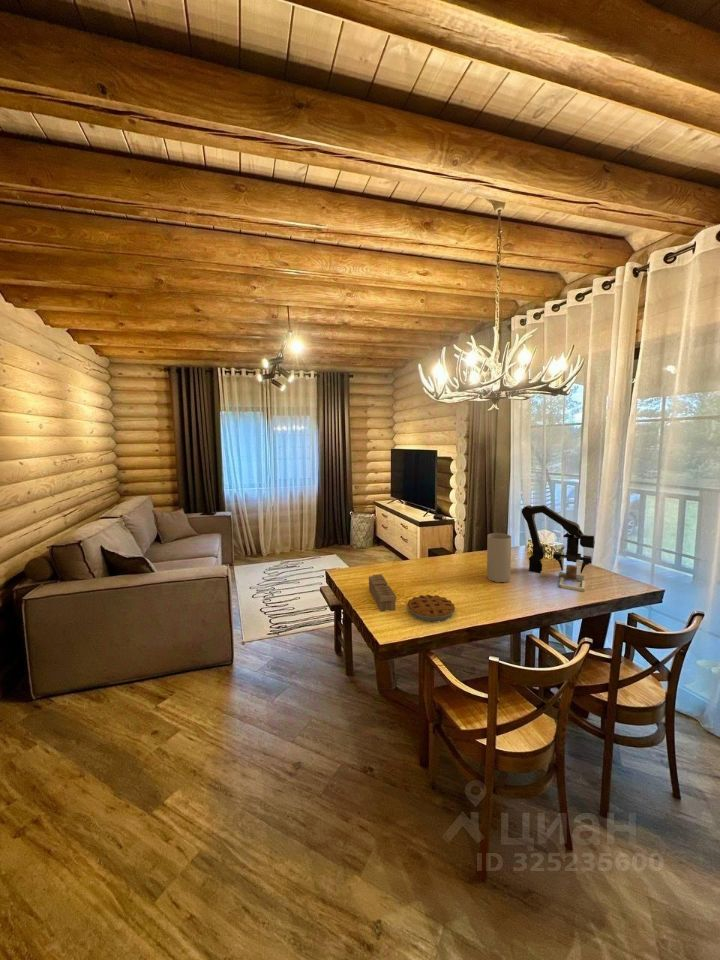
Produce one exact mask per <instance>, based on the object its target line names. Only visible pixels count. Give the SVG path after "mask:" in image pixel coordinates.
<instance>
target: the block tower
mask: <svg viewBox="0 0 720 960" xmlns="http://www.w3.org/2000/svg"><path fill="white" fill-rule="evenodd" d="M368 590H369V592H370V591H371V592H370V593H371V594H372V595H371V596H373V597H372V598H373V601H374V600H375V601H374V602H376V603H375V604H377V605H376V606H377V609H378V611H380V612H386V611H385V610H389V611H395V609H396V601H397V595H396V594H395V592H394V590H393V589H392V588H391V586H390V585H388V582H387V580H386V578H385V577H384V576H383V574H382V573H381V574H372V575H370V576H368Z"/></svg>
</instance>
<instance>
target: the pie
mask: <svg viewBox="0 0 720 960" xmlns="http://www.w3.org/2000/svg"><path fill="white" fill-rule="evenodd" d="M406 607H407V609H408V611H410V613H411V615H412V616H413V615H414V616H415V617H414V616H413V617H414V618H415V619H417V618H418V619H417V620H419V619H420V621H422V620H423V621H422V622H427V621H430V622H429V623H432V622H431V621H440V622H442V620H444V621H447V620H449V619H450V617H451V618H452V616H453V614H454V613H455V611H456V607H455V604H454V603H453V602H452V600H450V599H448V598H446V597H443V596H440V595H438V594H436V595H432V594H426V595H423V594H421V595H419V596H413V597H412V599H411V598H410V599H409V600H408V601H407V604H406ZM448 618H449V619H448ZM446 619H447V620H446Z"/></svg>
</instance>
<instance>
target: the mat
mask: <svg viewBox="0 0 720 960" xmlns="http://www.w3.org/2000/svg"><path fill="white" fill-rule="evenodd" d="M561 577H564V580H566V581H567V580H568V581H574V582H580V583H582V581H585V579H584V578H585V576H584V575H582V574H577V576H576V579H573V578H567V577H566V572H563V571H560V572H559V575H558V579H561Z"/></svg>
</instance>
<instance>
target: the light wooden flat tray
mask: <svg viewBox="0 0 720 960" xmlns="http://www.w3.org/2000/svg"><path fill="white" fill-rule="evenodd" d="M564 580H565V579H564V577H561V578H560V581H559V584H558V585H559V586H558V587H559V588H563V589H567V590H573V591H579V592H585V588H586V587H585V586H586V580H584V581H582V582H581V587H580V586H575V585H574V586H573V585H568V584H563V583H564Z"/></svg>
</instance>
